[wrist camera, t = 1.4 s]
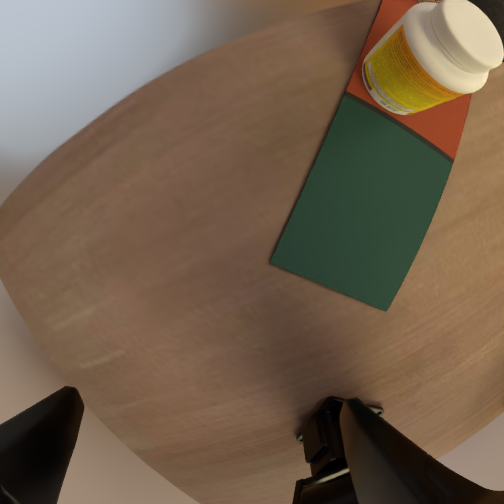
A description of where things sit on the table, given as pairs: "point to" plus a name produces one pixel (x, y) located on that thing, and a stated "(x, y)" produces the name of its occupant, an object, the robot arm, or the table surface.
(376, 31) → the sorting mat
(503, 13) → the light bulb
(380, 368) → the table surface
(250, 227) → the table surface
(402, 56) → the supplement bottle
